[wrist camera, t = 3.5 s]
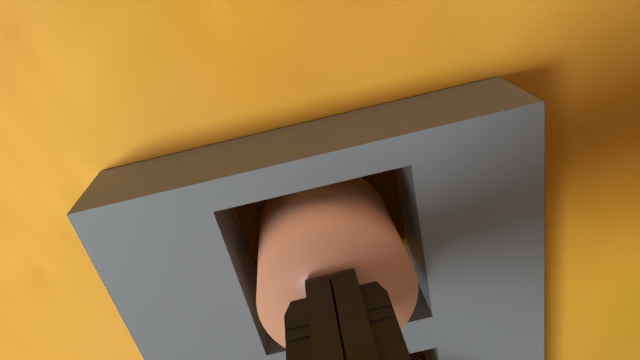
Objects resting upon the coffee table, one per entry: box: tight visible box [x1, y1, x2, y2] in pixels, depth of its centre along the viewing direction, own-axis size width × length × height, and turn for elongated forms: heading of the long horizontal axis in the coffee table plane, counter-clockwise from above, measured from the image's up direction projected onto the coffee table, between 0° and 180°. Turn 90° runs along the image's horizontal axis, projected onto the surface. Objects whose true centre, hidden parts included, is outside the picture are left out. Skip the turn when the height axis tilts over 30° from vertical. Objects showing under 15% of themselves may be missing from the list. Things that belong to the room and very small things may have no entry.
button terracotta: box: [256, 177, 418, 348], centre depth 16 cm, size 5×5×4 cm
